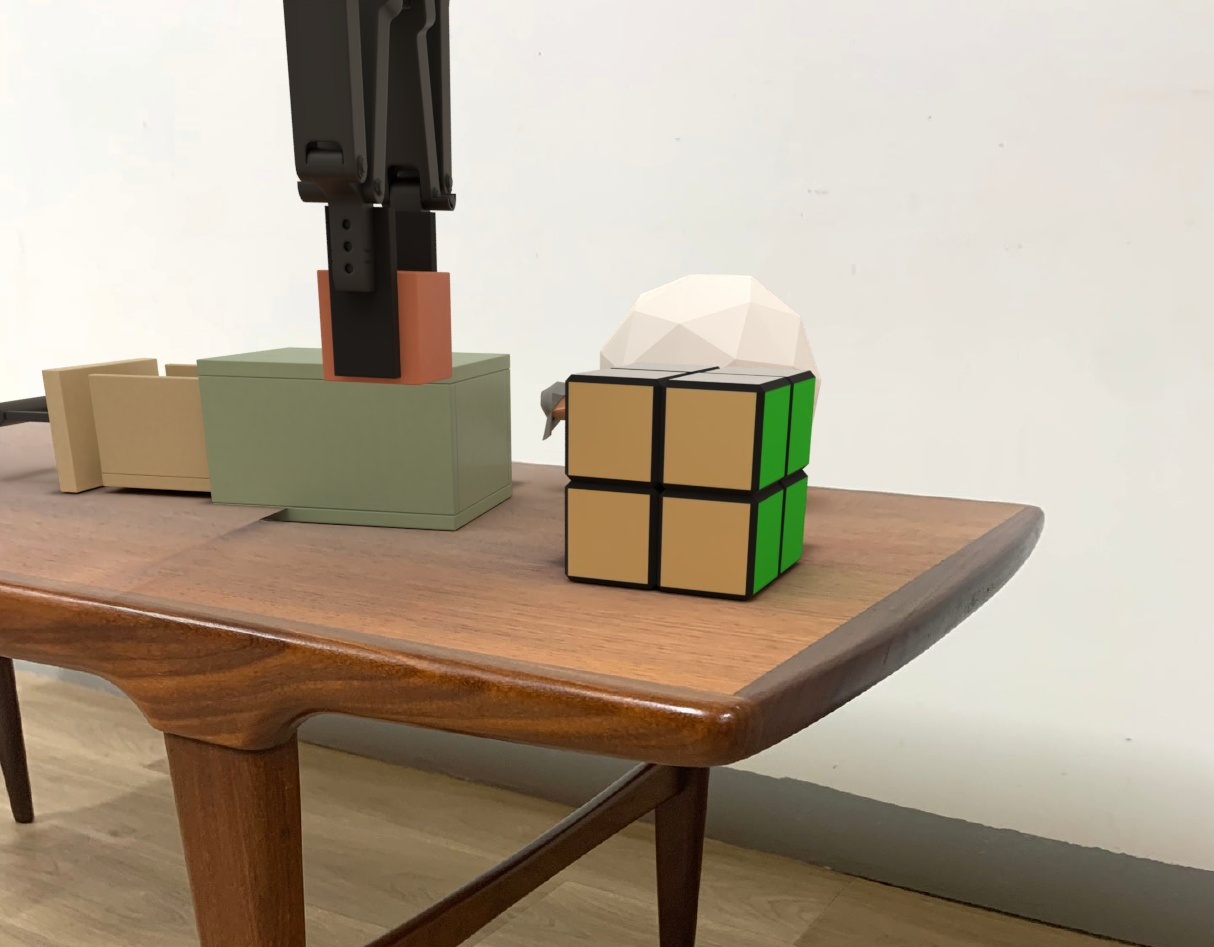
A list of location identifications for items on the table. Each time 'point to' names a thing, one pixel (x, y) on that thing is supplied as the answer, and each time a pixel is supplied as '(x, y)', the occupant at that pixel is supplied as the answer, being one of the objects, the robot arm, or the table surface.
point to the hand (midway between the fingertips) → (389, 370)
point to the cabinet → (357, 440)
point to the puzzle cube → (686, 476)
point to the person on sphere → (702, 332)
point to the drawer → (121, 425)
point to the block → (405, 329)
